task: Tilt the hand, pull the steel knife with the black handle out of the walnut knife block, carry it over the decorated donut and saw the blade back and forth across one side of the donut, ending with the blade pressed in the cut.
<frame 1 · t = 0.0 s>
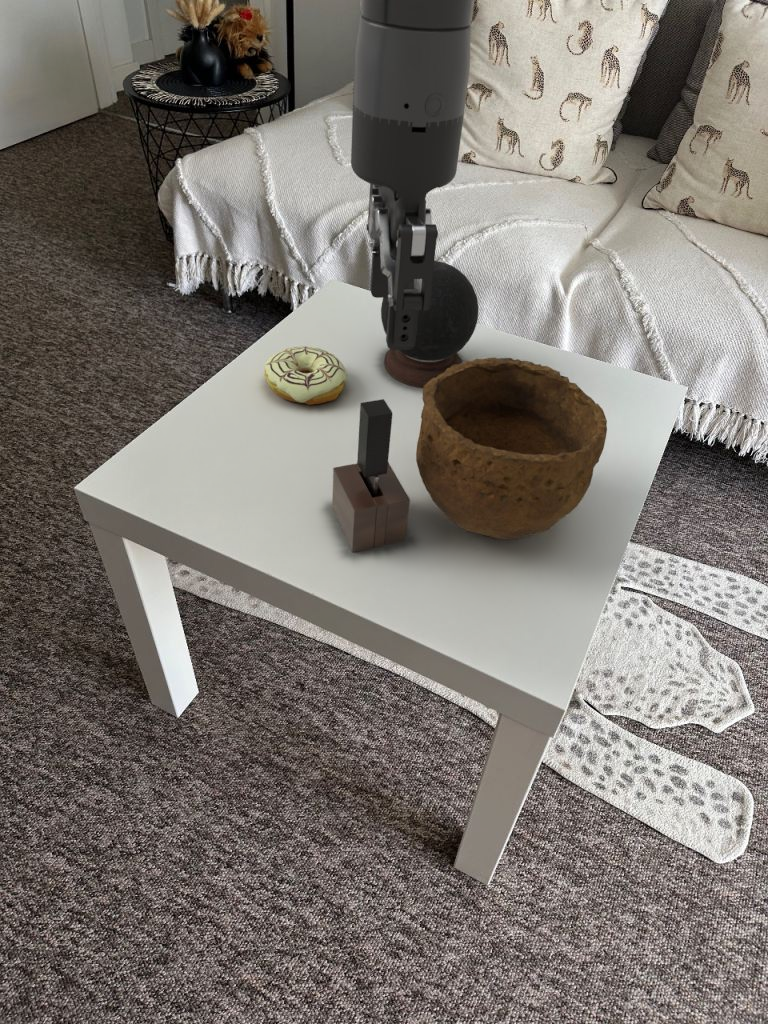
hand: (391, 320, 59), 26 cm above the table, tool pointing down, fingers open, 8 cm apart
knife: (371, 470, 72), in the knife block
black ball on stand: (422, 367, 102), on the table
bowl: (489, 512, 80), on the table
decorated donut: (305, 388, 96), on the table
knife block: (367, 524, 77), on the table
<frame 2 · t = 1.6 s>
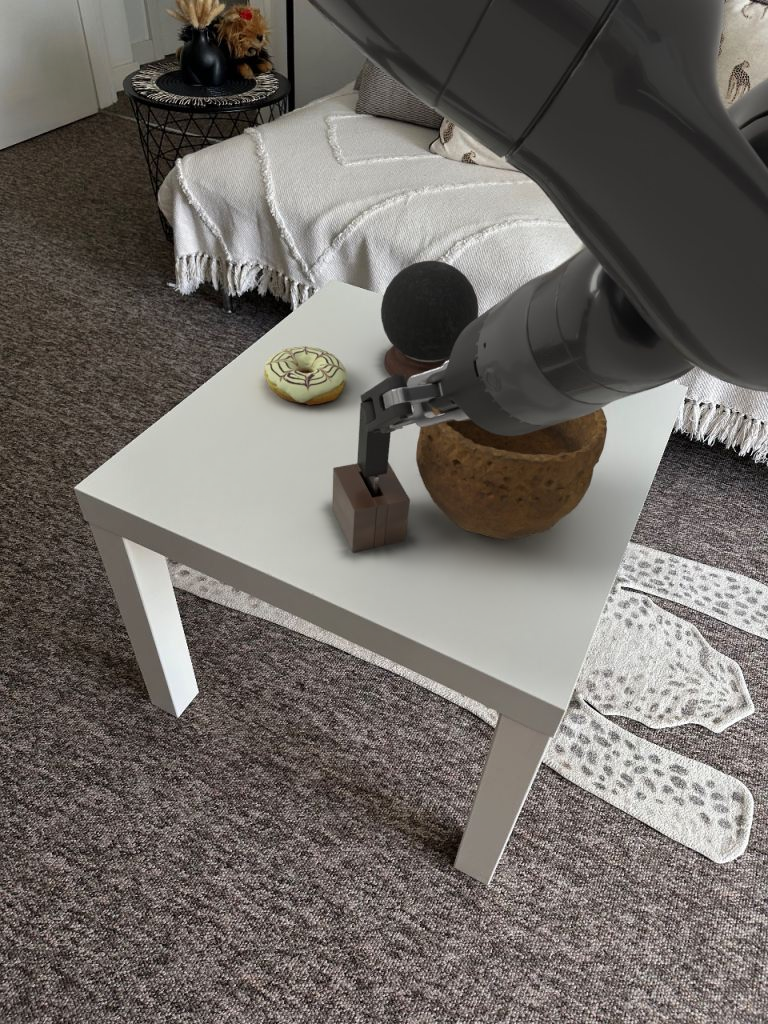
hand: (434, 410, 54), 23 cm above the table, tool tilted 45°, fingers open, 8 cm apart
nothing on the table moved.
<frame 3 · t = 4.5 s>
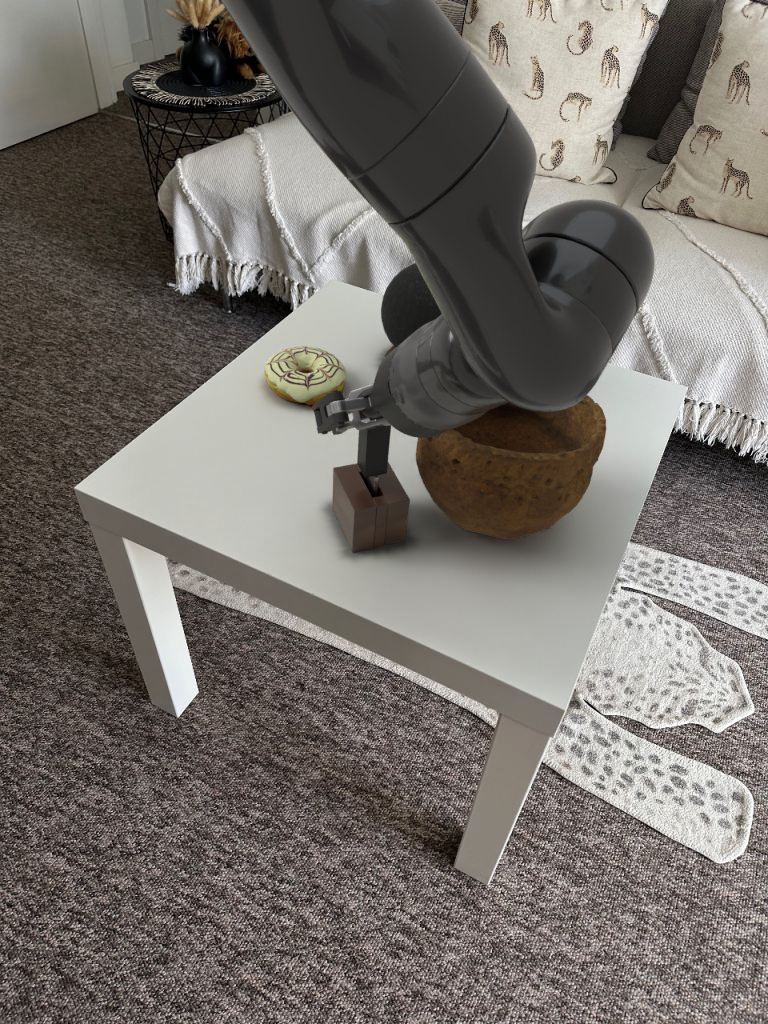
hand: (376, 416, 67), 15 cm above the table, tool tilted 45°, fingers open, 8 cm apart
bowl: (489, 512, 80), on the table, touching gripper
everything else where it was.
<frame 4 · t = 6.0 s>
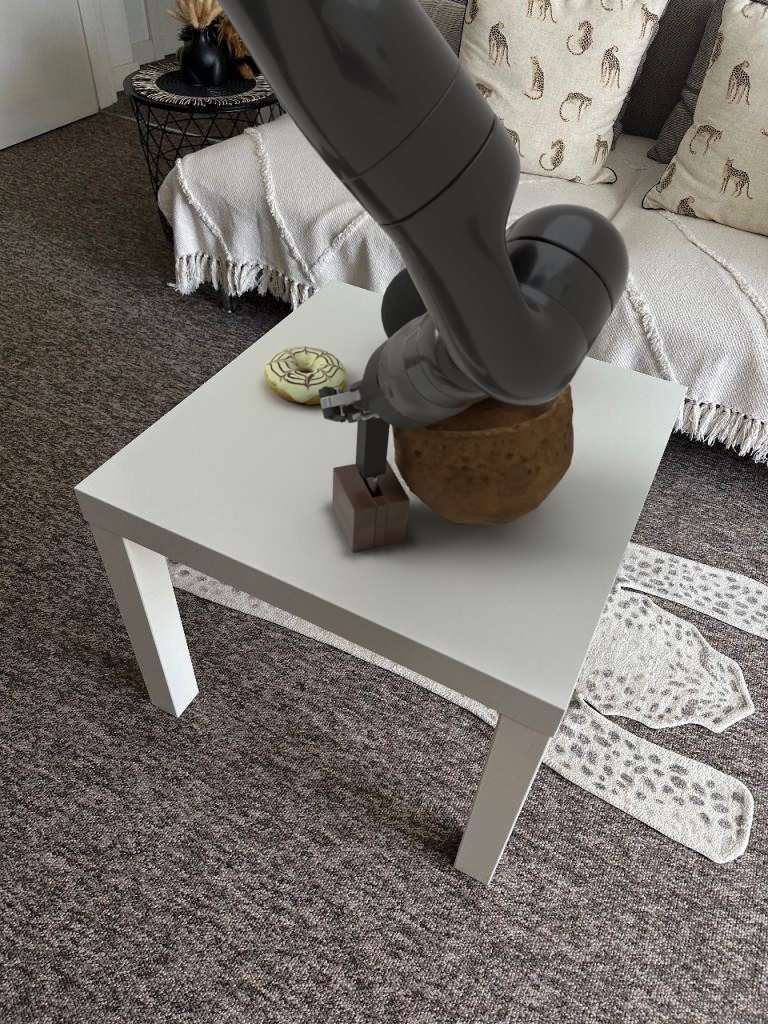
hand: (363, 409, 70), 14 cm above the table, tool tilted 45°, fingers closed on knife, 2 cm apart
knife: (370, 471, 72), in the knife block, touching gripper
bowl: (489, 504, 80), point 1 cm above the table, touching gripper
everything else where it was.
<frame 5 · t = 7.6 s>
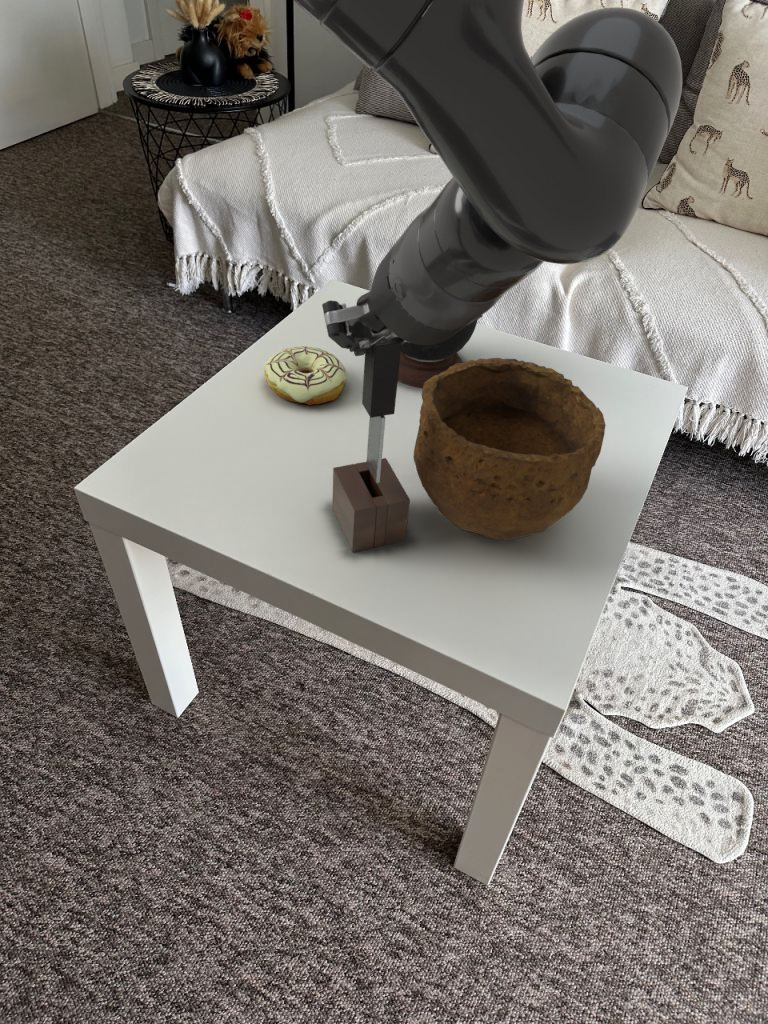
hand: (371, 342, 64), 21 cm above the table, tool tilted 45°, fingers closed on knife, 2 cm apart
knife: (377, 411, 66), point 16 cm above the table, touching gripper
bowl: (488, 512, 80), on the table
everything else where it was.
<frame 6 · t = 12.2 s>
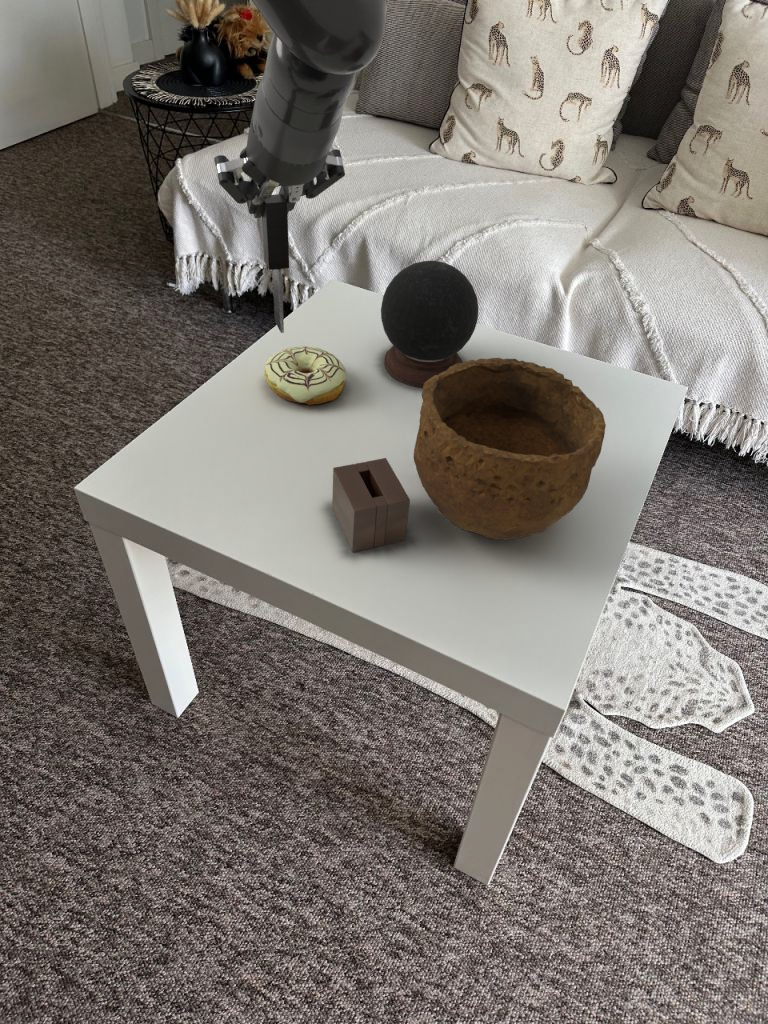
hand: (268, 208, 80), 23 cm above the table, tool tilted 45°, fingers closed on knife, 2 cm apart
knife: (276, 266, 82), point 18 cm above the table, touching gripper
everything else where it was.
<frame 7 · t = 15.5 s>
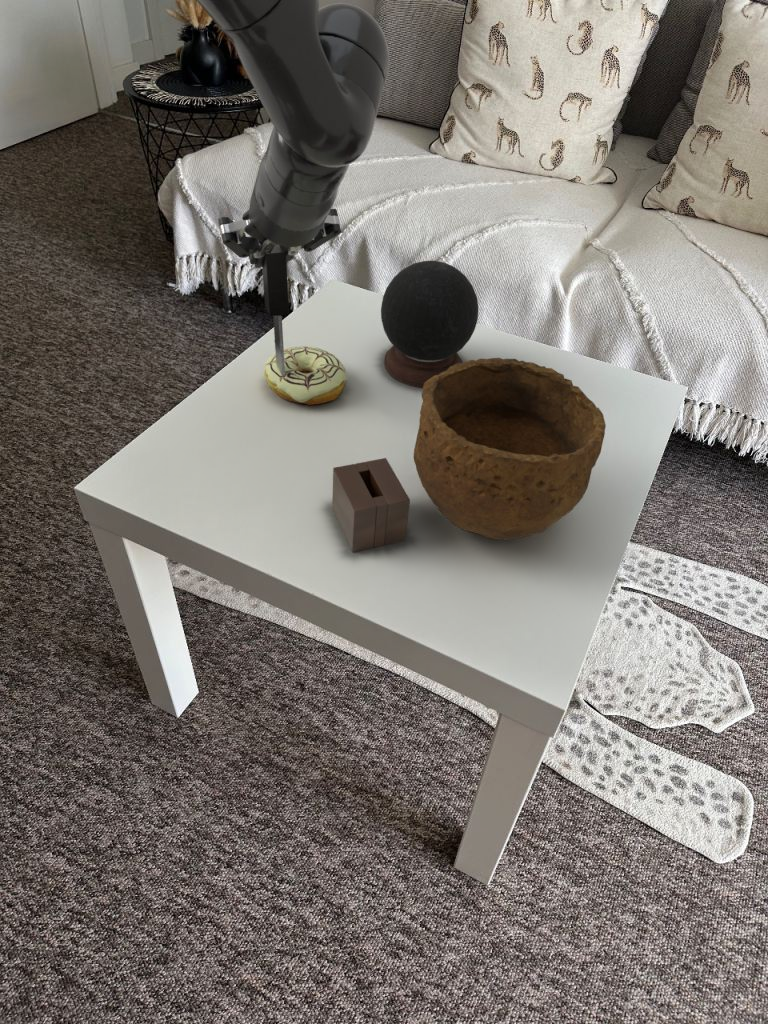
hand: (268, 258, 85), 17 cm above the table, tool tilted 45°, fingers closed on knife, 2 cm apart
knife: (277, 313, 86), point 12 cm above the table, touching decorated donut, gripper
decorated donut: (305, 388, 96), on the table, touching knife
everything else where it was.
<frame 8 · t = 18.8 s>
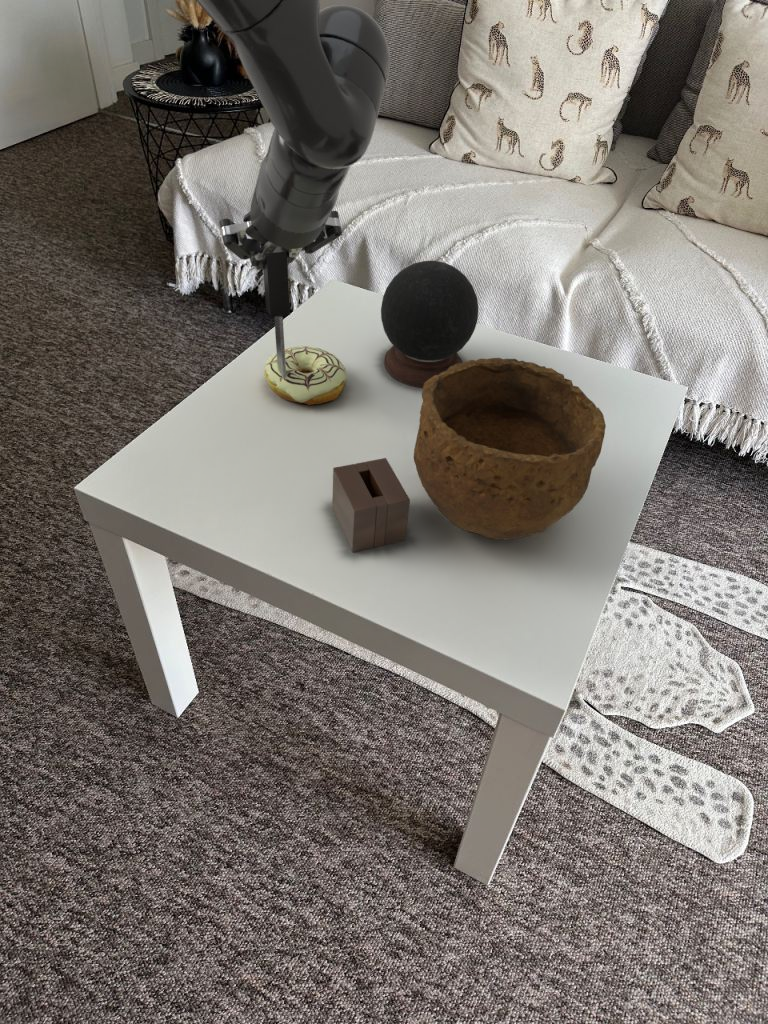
hand: (269, 260, 84), 17 cm above the table, tool tilted 45°, fingers closed on knife, 2 cm apart
knife: (278, 314, 86), point 12 cm above the table, tilted 7°, touching decorated donut, gripper
everything else where it was.
at the end: the gripper is holding knife; knife touching decorated donut, gripper; decorated donut moved 0.2 cm from its start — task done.
